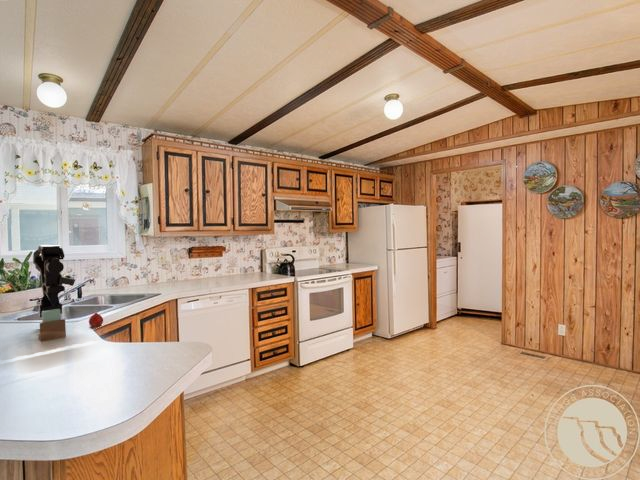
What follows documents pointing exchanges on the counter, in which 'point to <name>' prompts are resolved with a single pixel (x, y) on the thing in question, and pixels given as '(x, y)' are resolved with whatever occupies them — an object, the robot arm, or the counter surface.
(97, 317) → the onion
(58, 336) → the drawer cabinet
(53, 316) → the green rectangular block
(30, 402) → the counter surface
